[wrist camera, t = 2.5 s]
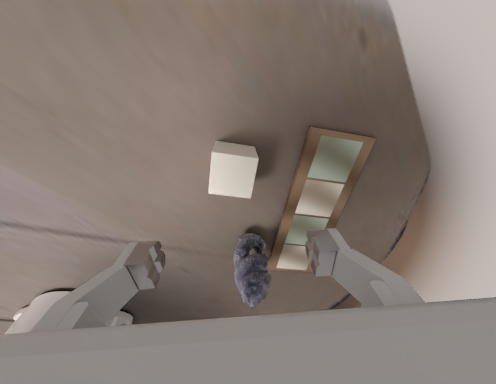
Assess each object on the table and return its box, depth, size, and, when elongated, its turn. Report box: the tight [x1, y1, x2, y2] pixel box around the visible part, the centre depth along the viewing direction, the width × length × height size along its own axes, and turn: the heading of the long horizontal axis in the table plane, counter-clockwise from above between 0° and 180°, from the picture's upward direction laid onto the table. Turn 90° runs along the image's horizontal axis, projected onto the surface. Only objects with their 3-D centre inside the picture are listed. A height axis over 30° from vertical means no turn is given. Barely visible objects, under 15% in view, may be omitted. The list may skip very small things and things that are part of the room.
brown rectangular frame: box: [267, 126, 376, 273], centre depth 27 cm, size 23×8×1 cm, turn 170°
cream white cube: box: [208, 141, 259, 199], centre depth 21 cm, size 4×4×4 cm
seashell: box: [233, 233, 271, 308], centre depth 25 cm, size 5×5×10 cm
